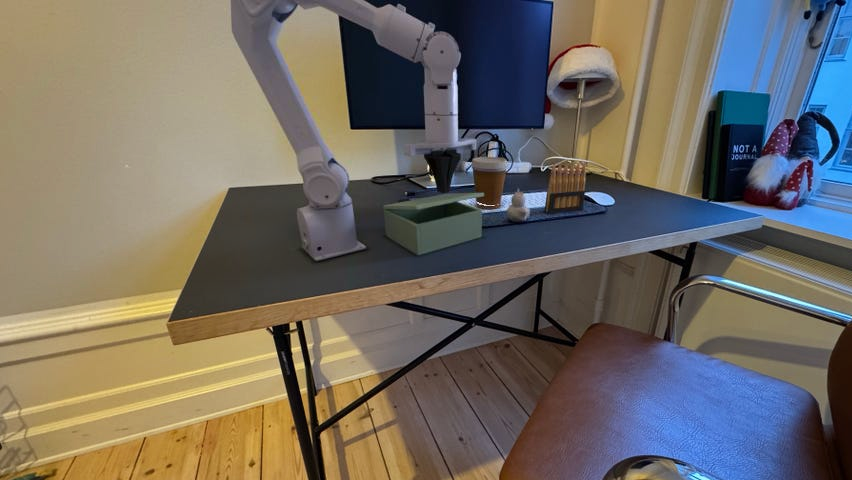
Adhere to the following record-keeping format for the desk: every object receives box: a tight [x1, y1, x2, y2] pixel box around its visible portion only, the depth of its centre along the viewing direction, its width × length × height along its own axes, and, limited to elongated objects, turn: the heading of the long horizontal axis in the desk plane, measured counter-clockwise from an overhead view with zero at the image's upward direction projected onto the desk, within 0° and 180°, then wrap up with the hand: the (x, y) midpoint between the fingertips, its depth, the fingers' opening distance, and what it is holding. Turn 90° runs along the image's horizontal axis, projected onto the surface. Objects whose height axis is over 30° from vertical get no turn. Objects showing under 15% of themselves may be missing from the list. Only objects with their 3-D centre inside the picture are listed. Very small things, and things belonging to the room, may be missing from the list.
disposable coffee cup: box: [470, 156, 509, 210], centre depth 95 cm, size 10×10×12 cm
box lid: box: [382, 192, 484, 210], centre depth 73 cm, size 13×16×1 cm
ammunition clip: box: [544, 162, 587, 215], centre depth 93 cm, size 11×2×12 cm, turn 112°
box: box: [383, 201, 483, 256], centre depth 76 cm, size 13×16×6 cm
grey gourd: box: [506, 187, 531, 223], centre depth 85 cm, size 5×7×8 cm
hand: (443, 191), depth 70 cm, fingers closed
